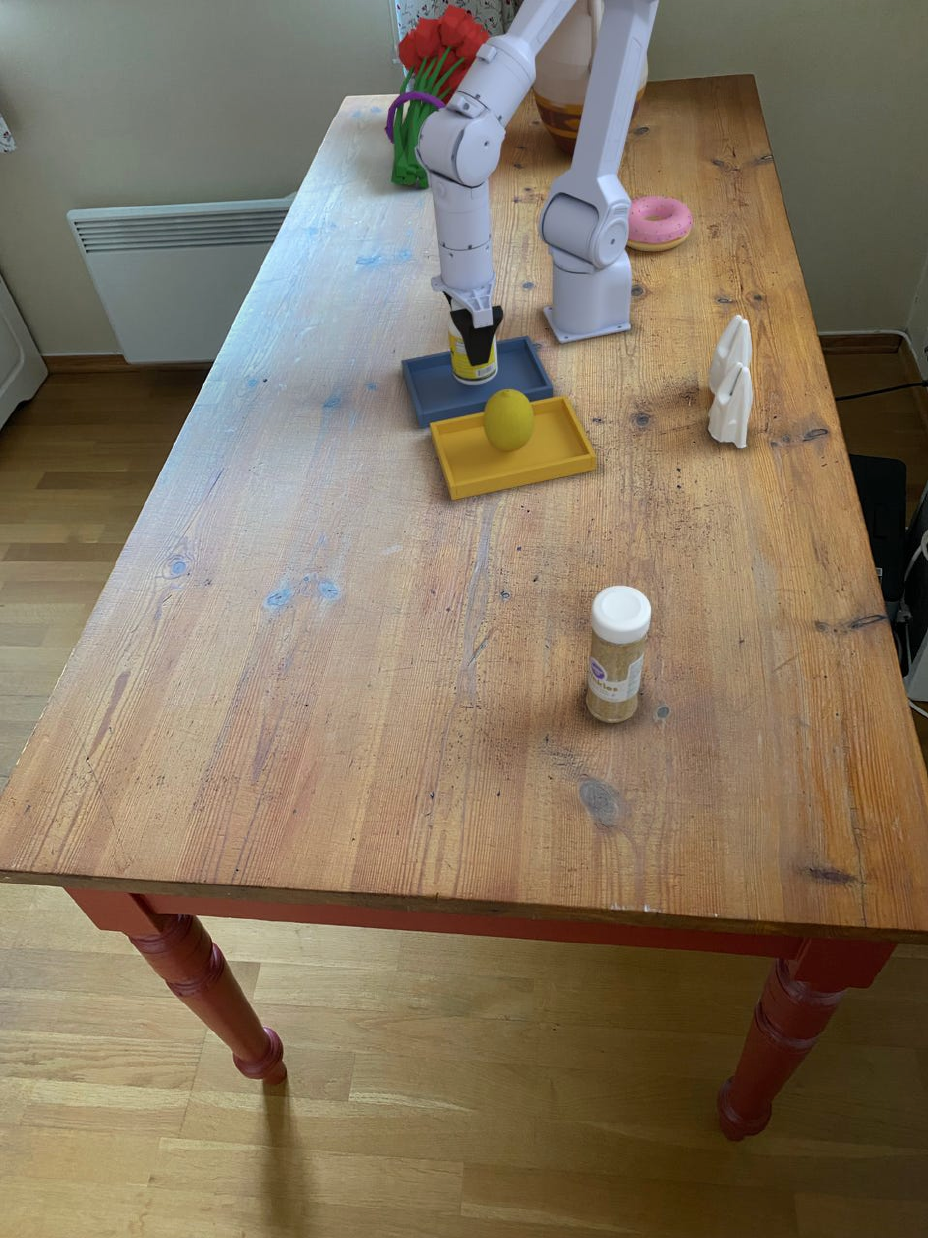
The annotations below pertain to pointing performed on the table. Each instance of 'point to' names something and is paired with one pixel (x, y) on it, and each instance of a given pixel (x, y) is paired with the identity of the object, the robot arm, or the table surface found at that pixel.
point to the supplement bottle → (461, 361)
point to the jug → (571, 73)
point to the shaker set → (731, 384)
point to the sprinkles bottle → (616, 652)
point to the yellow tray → (490, 469)
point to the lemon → (508, 420)
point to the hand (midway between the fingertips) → (473, 348)
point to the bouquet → (430, 82)
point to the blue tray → (450, 398)
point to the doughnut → (658, 223)
